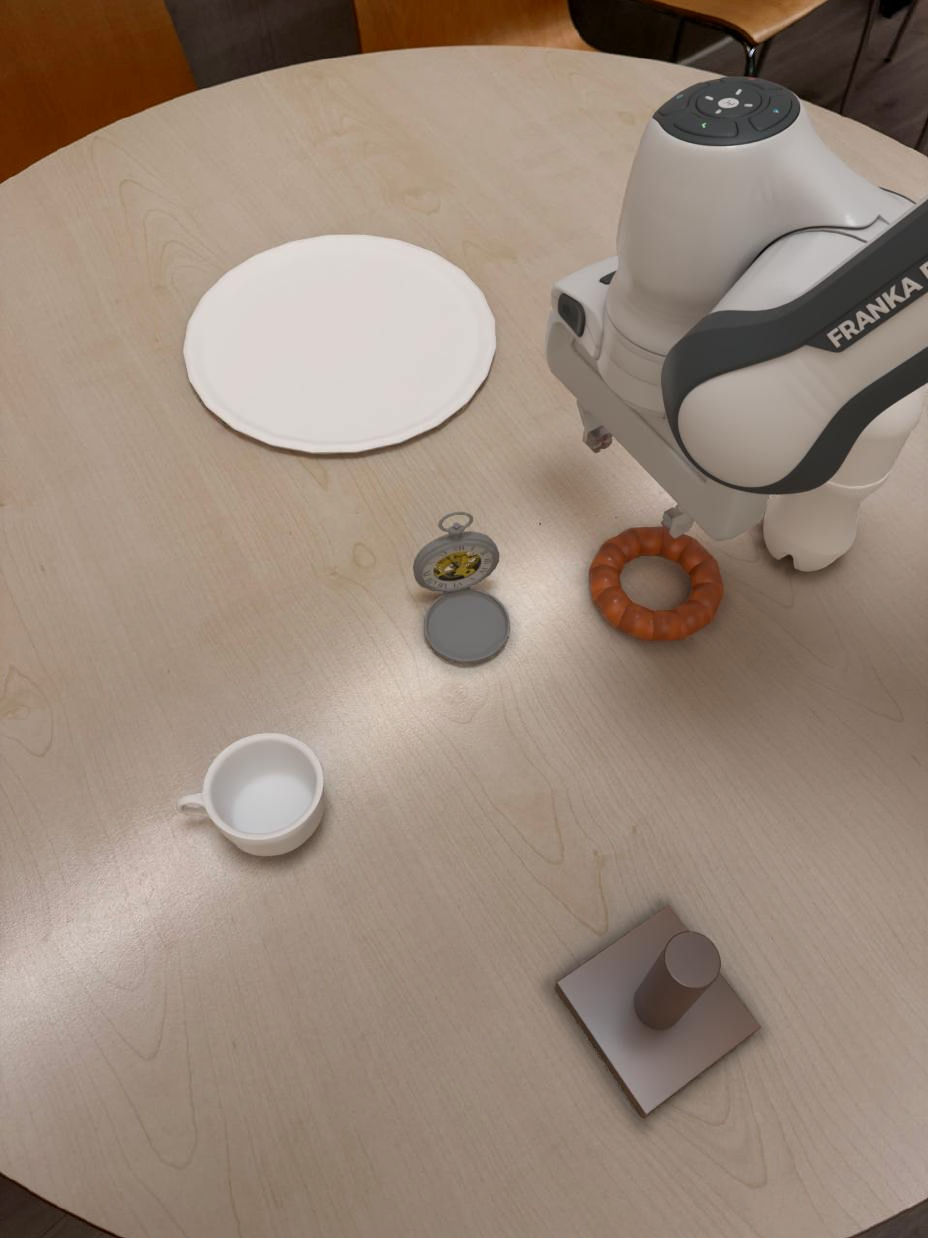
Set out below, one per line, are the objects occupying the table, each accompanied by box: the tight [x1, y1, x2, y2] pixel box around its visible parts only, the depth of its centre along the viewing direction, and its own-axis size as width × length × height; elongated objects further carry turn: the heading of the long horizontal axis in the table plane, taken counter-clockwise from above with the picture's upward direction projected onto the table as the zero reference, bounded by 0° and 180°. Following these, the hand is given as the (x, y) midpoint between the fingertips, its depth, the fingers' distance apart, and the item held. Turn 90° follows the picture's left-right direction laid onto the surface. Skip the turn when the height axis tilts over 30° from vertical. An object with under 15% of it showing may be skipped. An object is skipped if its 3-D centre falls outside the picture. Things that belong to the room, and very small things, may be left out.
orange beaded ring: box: [588, 525, 725, 643], centre depth 81 cm, size 10×10×2 cm
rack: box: [554, 904, 762, 1119], centre depth 59 cm, size 9×9×12 cm
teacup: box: [175, 732, 325, 857], centre depth 69 cm, size 10×8×5 cm
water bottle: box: [762, 385, 926, 572], centre depth 74 cm, size 7×7×25 cm
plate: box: [182, 233, 497, 455], centre depth 96 cm, size 29×29×1 cm
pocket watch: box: [412, 511, 511, 665], centre depth 76 cm, size 8×8×10 cm
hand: (634, 485), depth 76 cm, fingers open, 8 cm apart
